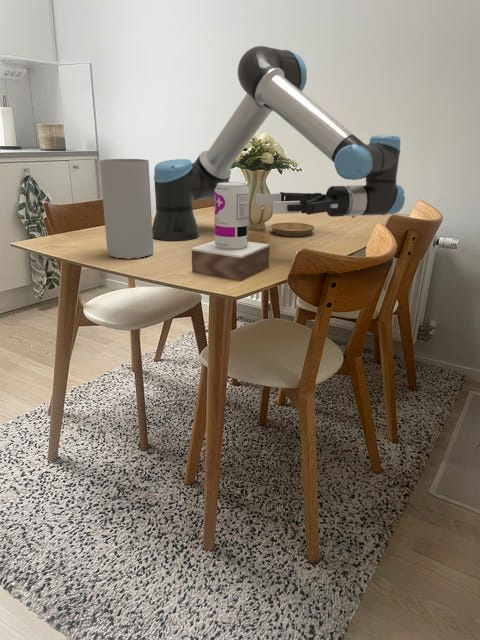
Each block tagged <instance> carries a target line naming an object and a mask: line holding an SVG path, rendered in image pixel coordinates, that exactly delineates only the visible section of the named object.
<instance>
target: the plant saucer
mask: <svg viewBox="0 0 480 640" xmlns="http://www.w3.org/2000/svg"><path fill="white" fill-rule="evenodd" d="M270 228H271V229H272V231H273V232H274V233H275V234H276V235H279V236H282V237H290V238H291V237H295V238H296V237H299V238H300V237H306V236H308V235H309V234H311V233H312V232H313V231H314V230H315V225H312V224H309V223H302V222H278V223H273V224H271V225H270Z"/></svg>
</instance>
